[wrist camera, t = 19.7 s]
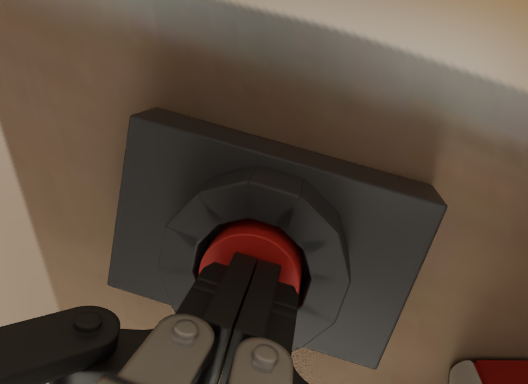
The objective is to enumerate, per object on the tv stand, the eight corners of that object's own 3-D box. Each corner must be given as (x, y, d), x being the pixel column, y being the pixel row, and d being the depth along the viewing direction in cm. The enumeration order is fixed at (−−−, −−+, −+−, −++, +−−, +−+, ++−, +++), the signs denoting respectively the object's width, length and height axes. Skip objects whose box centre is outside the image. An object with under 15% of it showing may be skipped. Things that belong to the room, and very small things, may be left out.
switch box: (131, 259, 19) (80, 312, 15) (155, 106, 16) (101, 122, 13) (371, 334, 18) (381, 409, 14) (433, 185, 16) (465, 228, 12)
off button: (205, 280, 15) (190, 308, 14) (223, 201, 14) (209, 221, 13) (289, 306, 15) (284, 337, 13) (314, 228, 14) (312, 252, 12)
